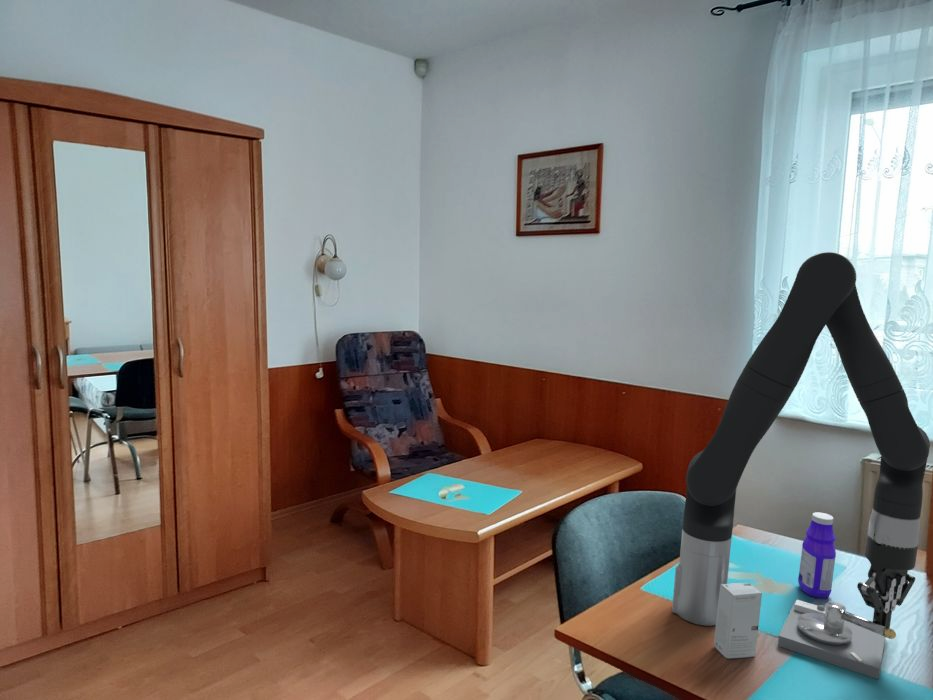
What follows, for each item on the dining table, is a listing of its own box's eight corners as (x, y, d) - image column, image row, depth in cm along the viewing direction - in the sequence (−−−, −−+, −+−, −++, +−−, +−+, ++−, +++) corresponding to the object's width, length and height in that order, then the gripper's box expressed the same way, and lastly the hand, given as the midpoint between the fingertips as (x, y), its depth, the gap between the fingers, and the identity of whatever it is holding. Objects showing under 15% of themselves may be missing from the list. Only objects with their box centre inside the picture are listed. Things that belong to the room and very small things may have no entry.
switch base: (777, 645, 124) (780, 625, 124) (793, 610, 137) (795, 592, 137) (878, 679, 115) (881, 657, 115) (885, 638, 128) (887, 619, 128)
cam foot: (788, 628, 126) (791, 599, 125) (809, 614, 132) (813, 586, 131) (882, 670, 114) (886, 638, 113) (901, 652, 120) (905, 621, 119)
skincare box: (726, 660, 119) (733, 595, 117) (712, 645, 123) (718, 583, 122) (757, 656, 121) (764, 593, 119) (741, 642, 125) (748, 581, 123)
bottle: (835, 600, 142) (845, 522, 140) (809, 599, 142) (818, 521, 140) (818, 584, 149) (827, 509, 147) (792, 583, 149) (801, 508, 147)
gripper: (895, 523, 124) (884, 610, 126) (847, 534, 118) (836, 625, 121) (938, 539, 117) (925, 631, 119) (889, 551, 111) (876, 648, 114)
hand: (880, 628), depth 120 cm, fingers closed
